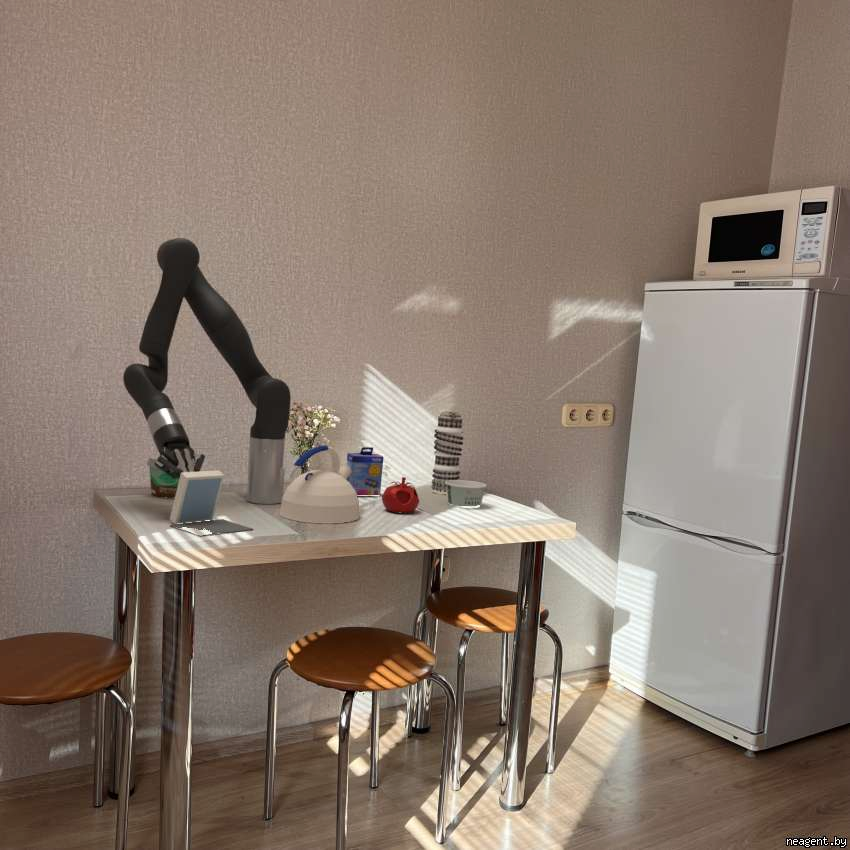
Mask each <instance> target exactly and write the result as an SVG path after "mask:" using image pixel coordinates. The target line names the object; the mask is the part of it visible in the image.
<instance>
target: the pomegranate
mask: <svg viewBox="0 0 850 850" xmlns="http://www.w3.org/2000/svg"><path fill="white" fill-rule="evenodd" d="M406 480H407V477H405V476H403V477H401V482H400V481H391V482H390V484H392V485H389V486H387V487H386V488H385V490H384V492H383V494H382V495H381V501H382V504H383V506H384V508H385V509H386V510H387V511H389V512H391V511H393V513H395V512H401V513H400V514H407V513H406V512H412V513H413V511H414V512H415V511H416V510H417V507H418V506H419V504H420V501H419V500H420V498H419V494H418V493H417V490H416V487H415V485H413V484H412V482H406ZM393 483H394V484H393Z"/></svg>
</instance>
